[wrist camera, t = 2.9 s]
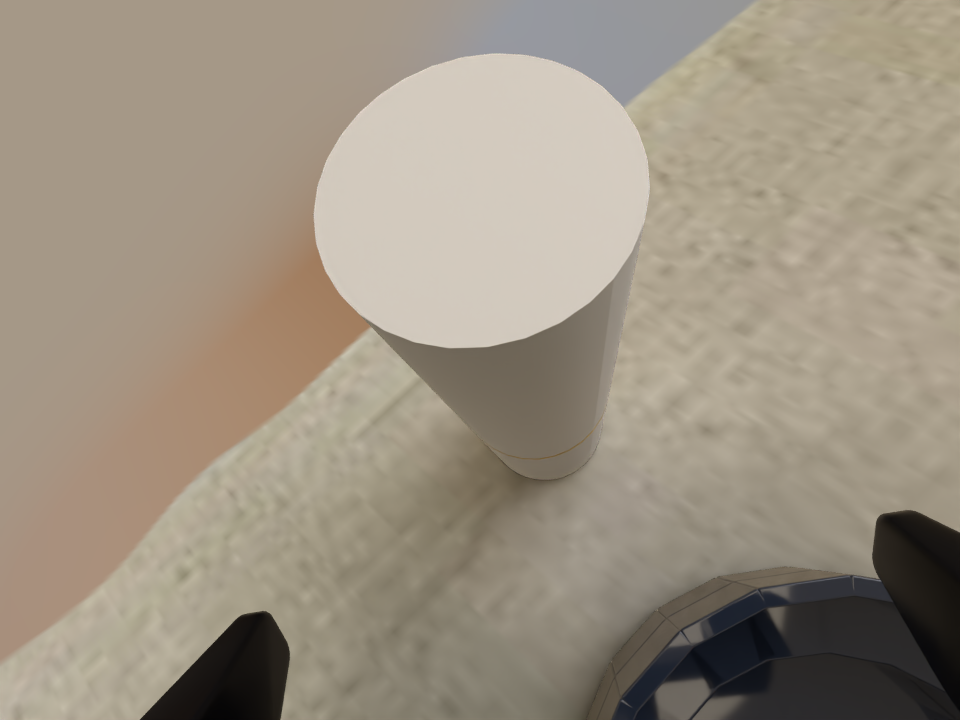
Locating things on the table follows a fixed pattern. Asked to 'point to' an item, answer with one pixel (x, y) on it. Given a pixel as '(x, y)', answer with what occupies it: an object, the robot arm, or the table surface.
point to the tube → (494, 244)
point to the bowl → (774, 655)
